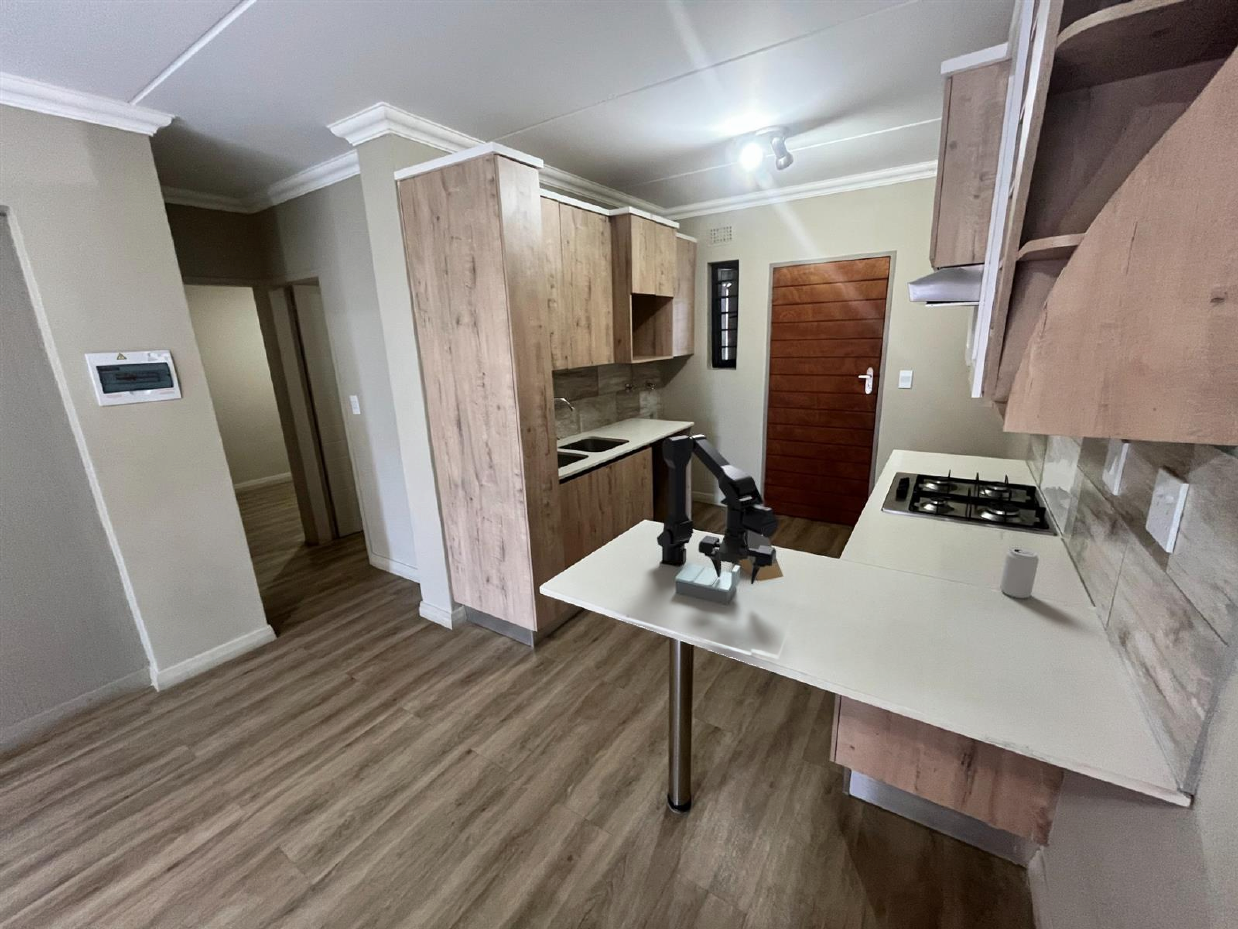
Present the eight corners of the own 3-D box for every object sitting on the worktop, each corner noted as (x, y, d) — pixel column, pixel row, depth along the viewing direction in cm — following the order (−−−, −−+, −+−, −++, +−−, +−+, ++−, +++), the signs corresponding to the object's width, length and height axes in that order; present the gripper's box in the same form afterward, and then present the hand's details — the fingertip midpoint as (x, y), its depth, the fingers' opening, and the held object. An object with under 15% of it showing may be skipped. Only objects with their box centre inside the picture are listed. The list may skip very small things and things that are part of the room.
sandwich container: (759, 584, 134) (761, 534, 130) (732, 561, 148) (733, 515, 145) (786, 580, 136) (789, 530, 132) (756, 557, 151) (759, 512, 147)
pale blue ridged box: (674, 580, 129) (674, 564, 127) (687, 565, 137) (687, 550, 135) (732, 593, 121) (733, 576, 120) (742, 577, 129) (743, 561, 128)
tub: (675, 594, 130) (675, 581, 129) (687, 580, 137) (688, 567, 136) (726, 607, 123) (727, 593, 122) (736, 591, 131) (737, 577, 130)
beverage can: (1001, 584, 130) (1009, 544, 127) (1032, 593, 126) (1041, 551, 123) (997, 593, 126) (1005, 551, 123) (1028, 602, 121) (1038, 559, 118)
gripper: (691, 529, 119) (690, 586, 123) (768, 542, 110) (765, 603, 114) (706, 514, 128) (704, 568, 132) (778, 525, 119) (774, 582, 123)
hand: (735, 580), depth 125 cm, fingers open, 8 cm apart
